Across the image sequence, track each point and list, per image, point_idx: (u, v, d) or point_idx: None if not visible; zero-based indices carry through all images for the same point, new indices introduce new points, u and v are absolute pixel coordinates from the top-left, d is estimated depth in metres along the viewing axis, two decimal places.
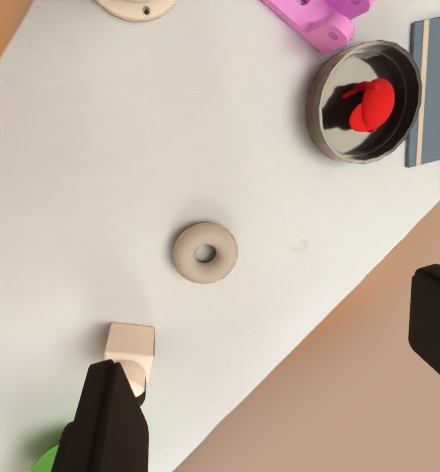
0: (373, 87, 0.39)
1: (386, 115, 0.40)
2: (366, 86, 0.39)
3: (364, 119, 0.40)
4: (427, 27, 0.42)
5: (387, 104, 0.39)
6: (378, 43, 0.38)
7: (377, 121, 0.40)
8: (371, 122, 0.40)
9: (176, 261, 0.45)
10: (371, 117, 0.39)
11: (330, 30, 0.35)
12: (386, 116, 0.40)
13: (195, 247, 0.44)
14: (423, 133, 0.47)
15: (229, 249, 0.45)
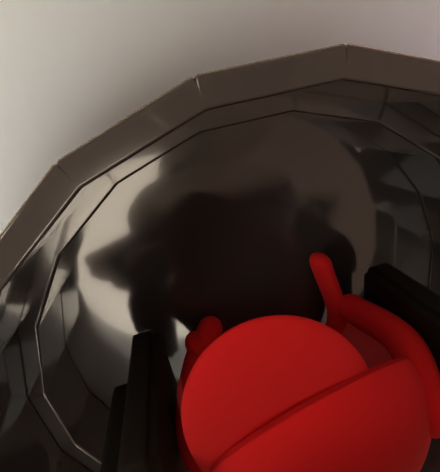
0: (439, 404, 0.06)
1: None
2: (419, 357, 0.07)
3: (277, 426, 0.05)
4: None
5: None
6: None
7: None
8: None
9: None
10: None
11: None
12: None
13: None
14: None
15: None
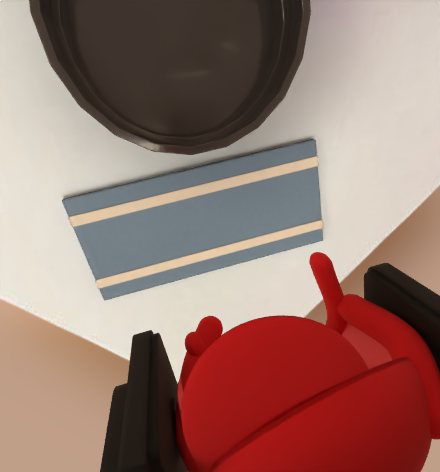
0: None
1: None
2: (419, 358, 0.07)
3: (277, 427, 0.05)
4: (307, 166, 0.25)
5: None
6: (304, 9, 0.18)
7: None
8: None
9: None
10: None
11: None
12: None
13: None
14: (137, 212, 0.24)
15: None
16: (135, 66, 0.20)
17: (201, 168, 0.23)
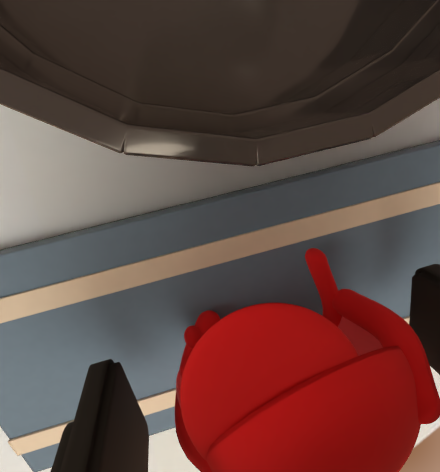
0: (427, 391, 0.07)
1: None
2: (409, 347, 0.07)
3: (271, 408, 0.05)
4: None
5: None
6: None
7: None
8: (253, 466, 0.05)
9: None
10: (292, 457, 0.05)
11: None
12: None
13: None
14: (98, 300, 0.10)
15: None
16: None
17: (253, 194, 0.10)
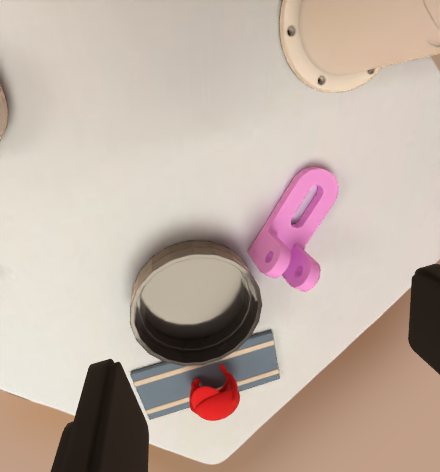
0: (233, 398, 0.39)
1: (209, 419, 0.38)
2: (233, 390, 0.39)
3: (204, 401, 0.37)
4: (267, 345, 0.43)
5: (219, 417, 0.38)
6: (258, 304, 0.36)
7: (203, 414, 0.38)
8: (201, 409, 0.37)
9: None
10: (207, 408, 0.37)
11: (274, 252, 0.32)
12: (208, 419, 0.38)
13: None
14: (170, 376, 0.42)
15: None
16: (172, 313, 0.39)
17: None
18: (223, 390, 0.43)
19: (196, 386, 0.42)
